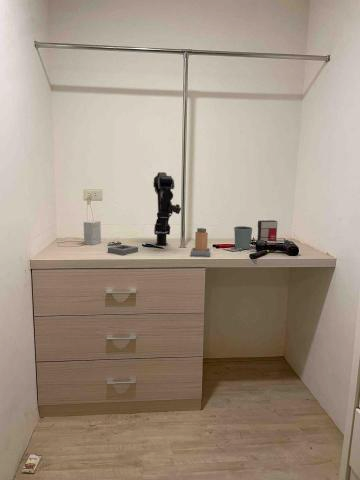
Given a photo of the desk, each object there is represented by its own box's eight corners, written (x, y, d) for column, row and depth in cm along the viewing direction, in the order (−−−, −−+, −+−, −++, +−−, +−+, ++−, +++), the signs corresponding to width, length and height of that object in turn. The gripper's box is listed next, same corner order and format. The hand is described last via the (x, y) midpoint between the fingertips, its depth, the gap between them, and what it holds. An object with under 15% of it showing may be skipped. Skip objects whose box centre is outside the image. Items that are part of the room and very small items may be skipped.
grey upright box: (259, 246, 222) (261, 221, 219) (256, 245, 226) (257, 220, 223) (276, 246, 225) (278, 221, 222) (273, 244, 229) (274, 220, 226)
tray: (191, 252, 204) (191, 247, 203) (210, 252, 203) (210, 248, 202) (190, 256, 194) (190, 251, 193) (210, 257, 193) (210, 252, 193)
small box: (92, 242, 226) (91, 220, 224) (101, 243, 224) (100, 221, 222) (83, 244, 219) (83, 221, 217) (92, 245, 217) (92, 222, 214)
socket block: (122, 250, 204) (122, 244, 203) (138, 253, 197) (138, 247, 197) (107, 254, 195) (107, 247, 194) (123, 257, 188) (123, 250, 188)
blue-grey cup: (253, 247, 219) (254, 227, 217) (248, 250, 210) (249, 229, 208) (236, 245, 224) (237, 225, 221) (230, 248, 215) (231, 227, 213)
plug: (194, 252, 199) (195, 228, 196) (200, 251, 201) (201, 227, 199) (201, 254, 195) (202, 229, 193) (207, 253, 198) (207, 228, 195)
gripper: (178, 201, 192) (178, 231, 195) (181, 198, 210) (181, 226, 213) (156, 200, 193) (156, 231, 196) (162, 198, 211) (161, 226, 214)
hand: (164, 228), depth 205 cm, fingers open, 9 cm apart
